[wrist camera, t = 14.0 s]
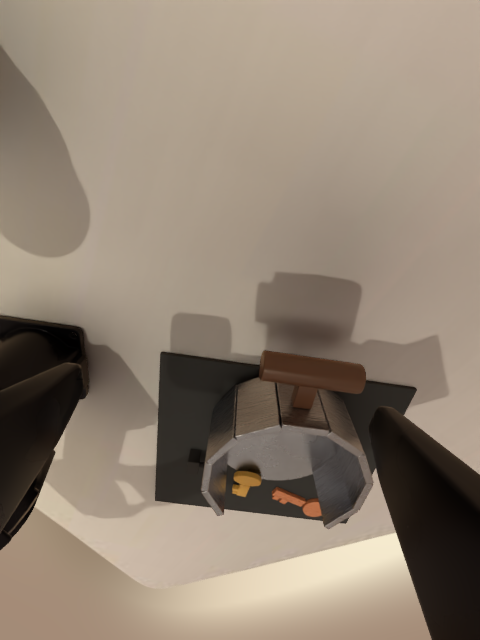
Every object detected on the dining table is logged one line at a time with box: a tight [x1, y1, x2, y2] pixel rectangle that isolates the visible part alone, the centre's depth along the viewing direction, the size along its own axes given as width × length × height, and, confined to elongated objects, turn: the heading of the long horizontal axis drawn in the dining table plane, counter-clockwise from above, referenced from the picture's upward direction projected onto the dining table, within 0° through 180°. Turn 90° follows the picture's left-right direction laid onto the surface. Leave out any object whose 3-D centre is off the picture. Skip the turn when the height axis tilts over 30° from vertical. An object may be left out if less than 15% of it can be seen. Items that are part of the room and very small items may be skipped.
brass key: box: [232, 471, 261, 497], centre depth 27 cm, size 6×2×1 cm, turn 173°
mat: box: [155, 352, 417, 524], centre depth 26 cm, size 20×18×2 cm
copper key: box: [272, 487, 322, 517], centre depth 29 cm, size 6×2×1 cm, turn 59°
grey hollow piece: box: [201, 350, 373, 529], centre depth 21 cm, size 11×14×5 cm
